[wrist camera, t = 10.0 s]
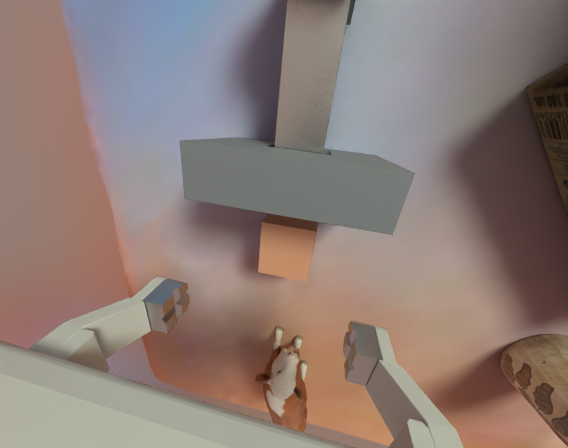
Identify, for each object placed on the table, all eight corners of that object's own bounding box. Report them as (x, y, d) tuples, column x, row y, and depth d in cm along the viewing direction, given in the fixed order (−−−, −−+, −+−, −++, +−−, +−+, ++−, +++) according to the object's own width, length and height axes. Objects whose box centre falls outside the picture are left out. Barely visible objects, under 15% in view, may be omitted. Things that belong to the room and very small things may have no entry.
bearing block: (239, 137, 18) (179, 140, 10) (375, 155, 16) (414, 173, 9) (238, 173, 19) (184, 198, 12) (365, 192, 18) (392, 235, 10)
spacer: (275, 203, 19) (261, 222, 15) (318, 210, 19) (316, 231, 15) (271, 245, 21) (258, 272, 17) (310, 252, 21) (306, 282, 17)
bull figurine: (309, 306, 23) (302, 386, 16) (310, 383, 29) (304, 469, 21) (271, 303, 24) (247, 377, 17) (278, 378, 29) (262, 459, 22)
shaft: (302, -45, 13) (284, -178, 7) (362, -43, 12) (391, -184, 7) (278, 186, 18) (258, 208, 13) (318, 192, 18) (315, 218, 13)
